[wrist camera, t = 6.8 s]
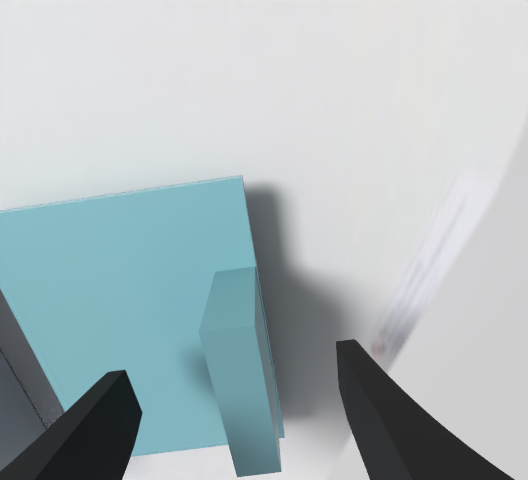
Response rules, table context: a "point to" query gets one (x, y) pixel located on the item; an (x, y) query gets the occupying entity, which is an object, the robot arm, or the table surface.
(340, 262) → the table surface
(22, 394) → the parts tub
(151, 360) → the lid
